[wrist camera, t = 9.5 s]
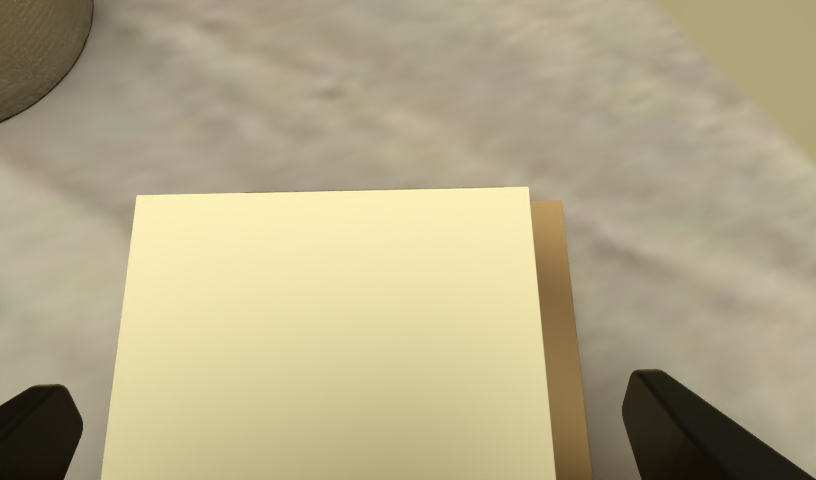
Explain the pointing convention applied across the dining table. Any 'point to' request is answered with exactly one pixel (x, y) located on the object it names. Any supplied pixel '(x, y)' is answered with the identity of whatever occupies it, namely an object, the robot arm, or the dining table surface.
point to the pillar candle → (38, 47)
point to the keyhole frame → (557, 341)
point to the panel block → (331, 339)
